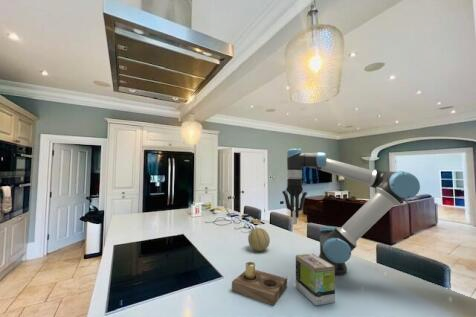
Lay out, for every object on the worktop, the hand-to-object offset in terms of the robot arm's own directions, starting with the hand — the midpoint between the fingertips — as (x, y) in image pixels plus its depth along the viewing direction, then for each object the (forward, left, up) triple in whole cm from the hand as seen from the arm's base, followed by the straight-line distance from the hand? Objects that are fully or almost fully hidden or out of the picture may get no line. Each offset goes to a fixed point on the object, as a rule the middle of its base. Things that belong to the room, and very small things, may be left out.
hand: (294, 223), depth 112 cm
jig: (+21, -10, -26) cm, 35 cm away
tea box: (+12, +12, -27) cm, 32 cm away
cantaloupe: (-22, -31, -27) cm, 46 cm away
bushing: (+21, -15, -26) cm, 37 cm away
